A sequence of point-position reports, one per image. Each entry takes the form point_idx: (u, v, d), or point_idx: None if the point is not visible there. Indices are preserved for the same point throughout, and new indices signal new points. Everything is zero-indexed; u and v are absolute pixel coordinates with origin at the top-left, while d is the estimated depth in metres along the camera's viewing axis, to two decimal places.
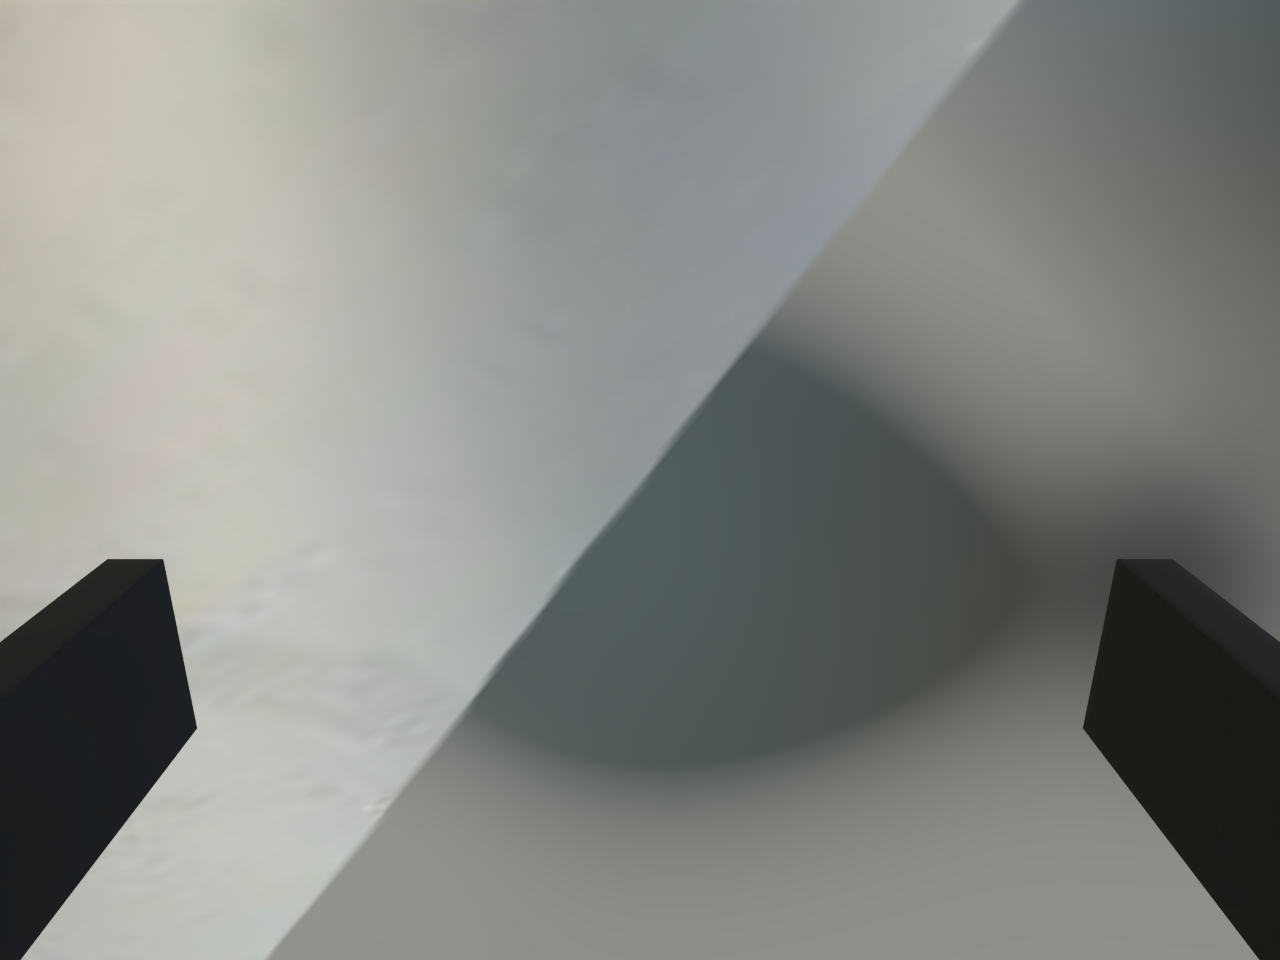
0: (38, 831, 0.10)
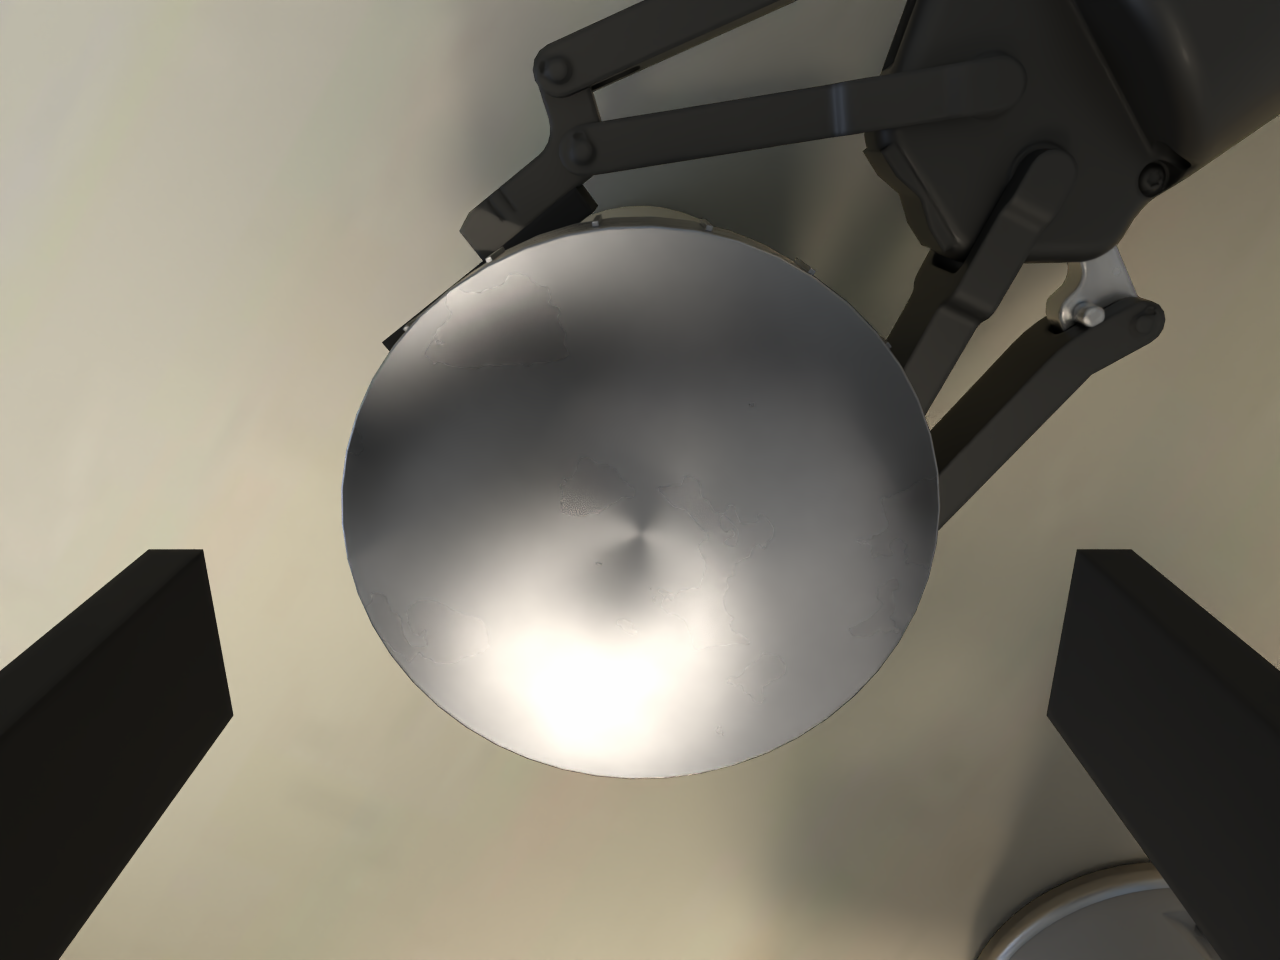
0: (92, 810, 0.10)
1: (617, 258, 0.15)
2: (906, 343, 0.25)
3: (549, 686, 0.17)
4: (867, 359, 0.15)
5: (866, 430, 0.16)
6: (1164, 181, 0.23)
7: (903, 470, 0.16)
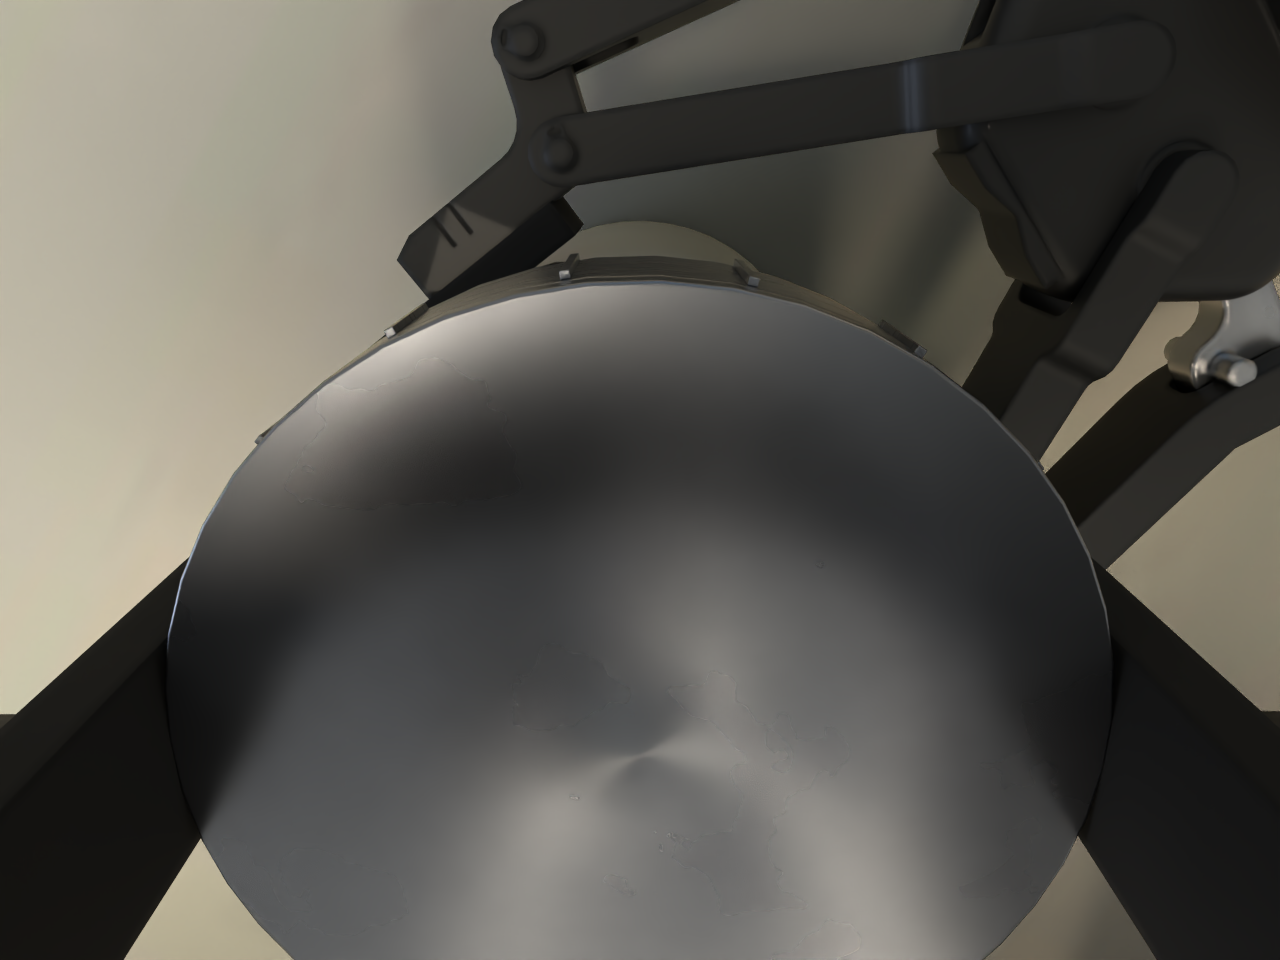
0: (174, 782, 0.10)
1: (601, 334, 0.09)
2: (989, 406, 0.19)
3: None
4: (1011, 495, 0.09)
5: (1003, 603, 0.10)
6: None
7: (1059, 662, 0.10)
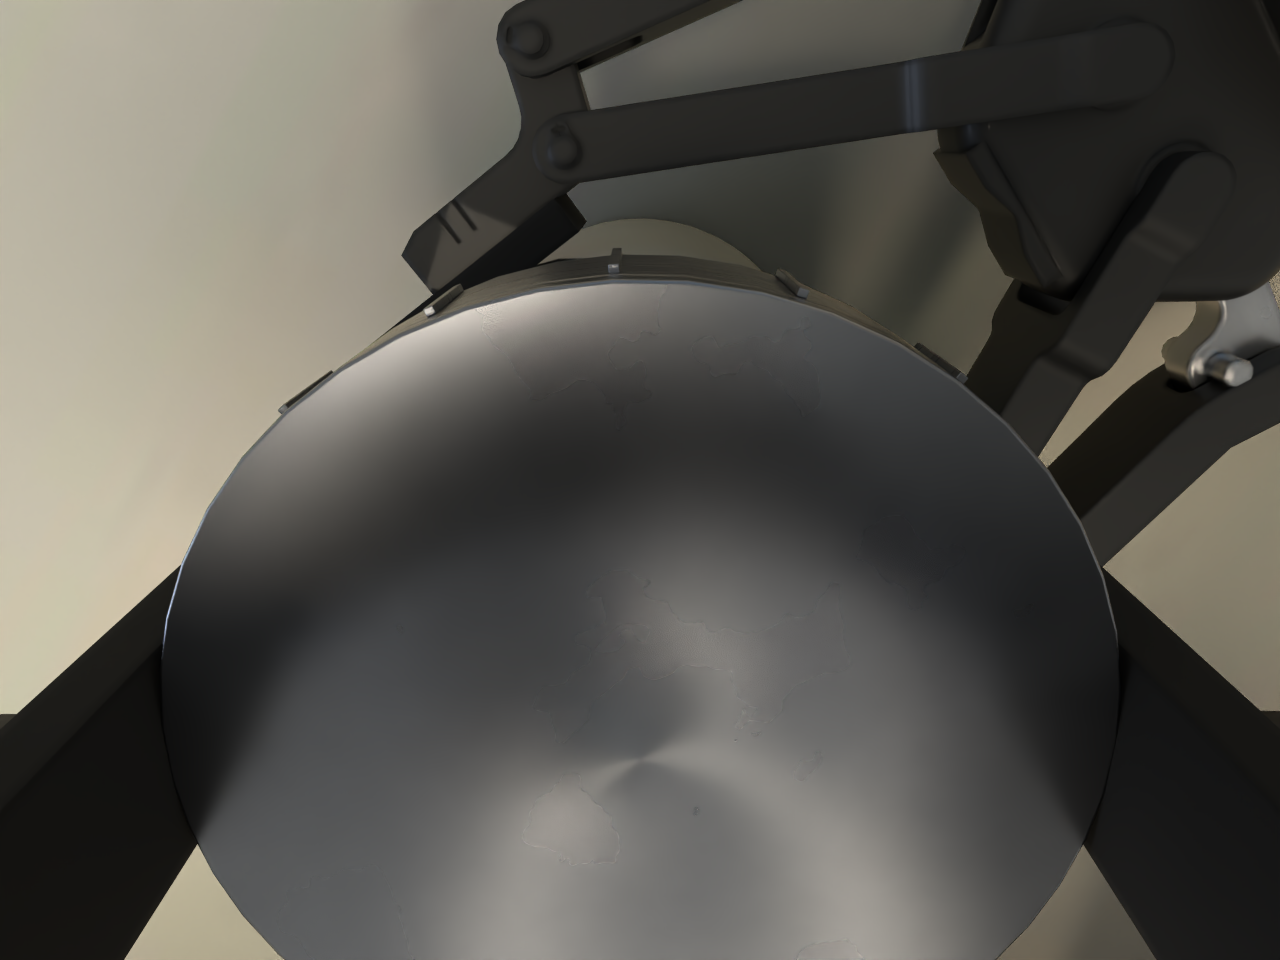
0: None
1: (227, 816, 0.11)
2: (988, 404, 0.19)
3: (920, 863, 0.11)
4: (288, 466, 0.09)
5: (411, 446, 0.09)
6: None
7: (473, 370, 0.09)
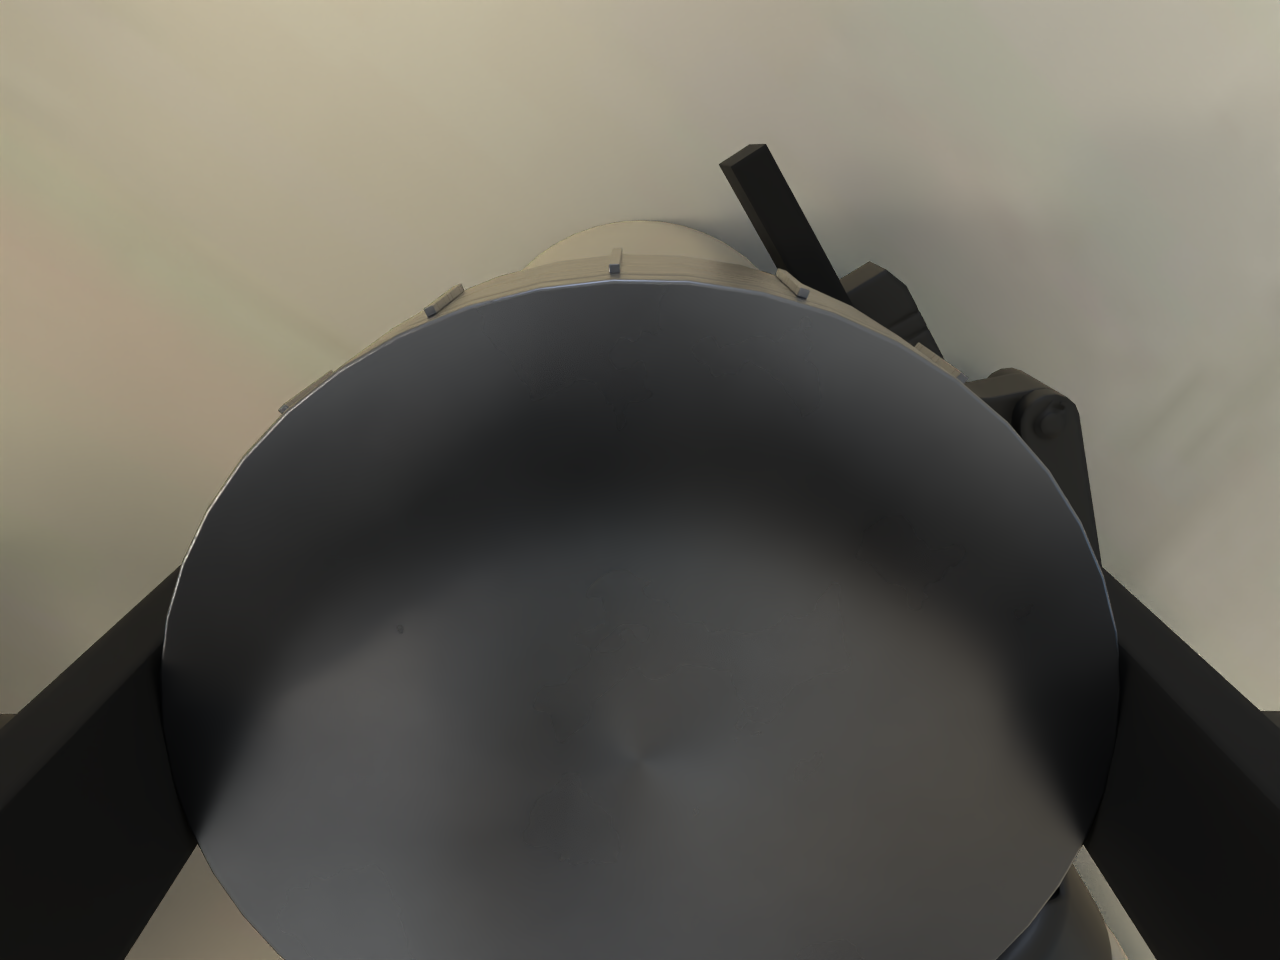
0: None
1: (227, 815, 0.11)
2: None
3: (920, 863, 0.11)
4: (288, 466, 0.09)
5: (412, 446, 0.09)
6: None
7: (474, 370, 0.09)
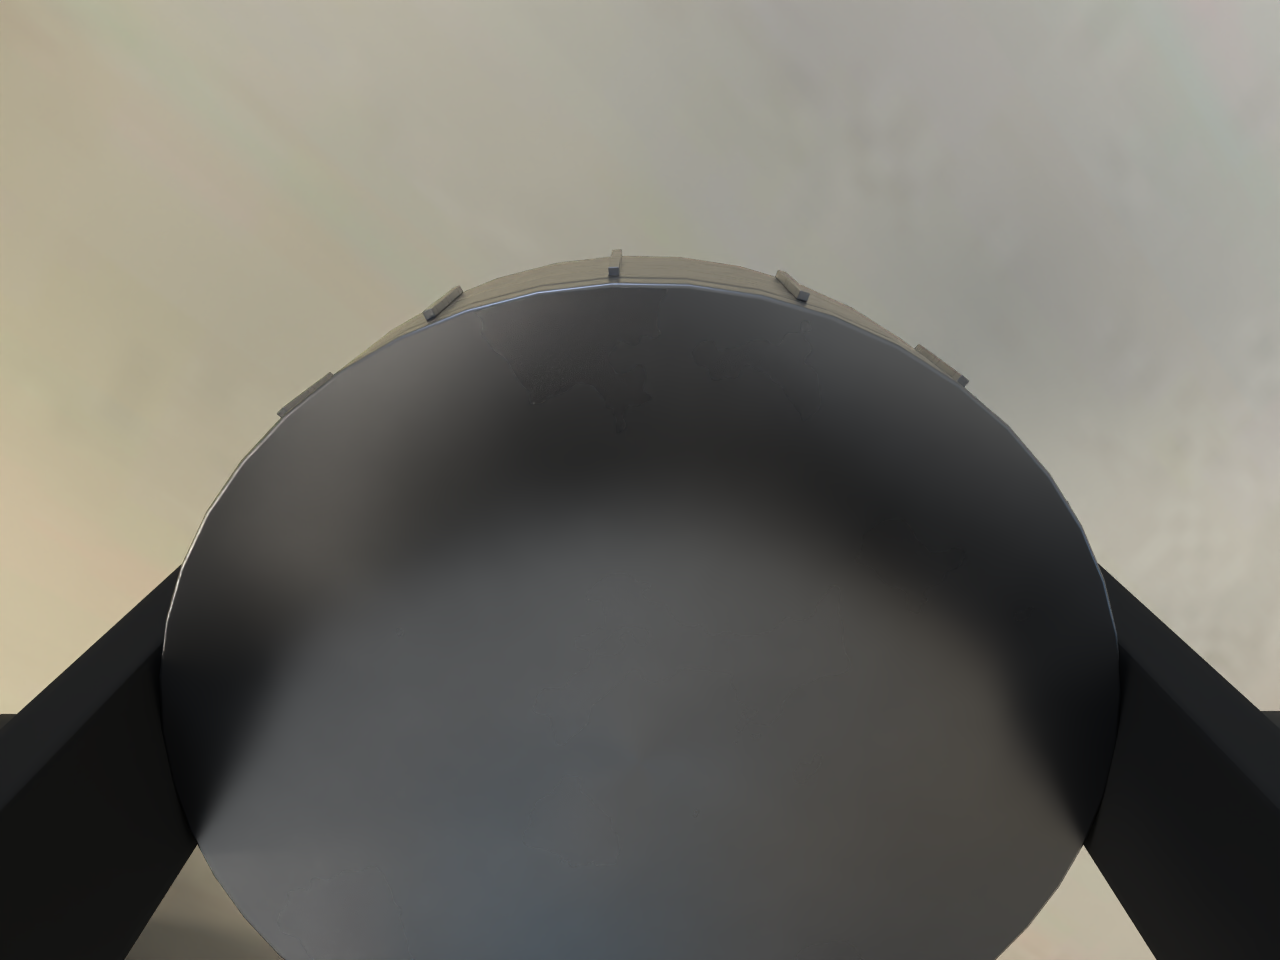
0: None
1: (227, 818, 0.11)
2: None
3: (920, 865, 0.11)
4: (287, 470, 0.09)
5: (411, 450, 0.09)
6: None
7: (473, 374, 0.09)
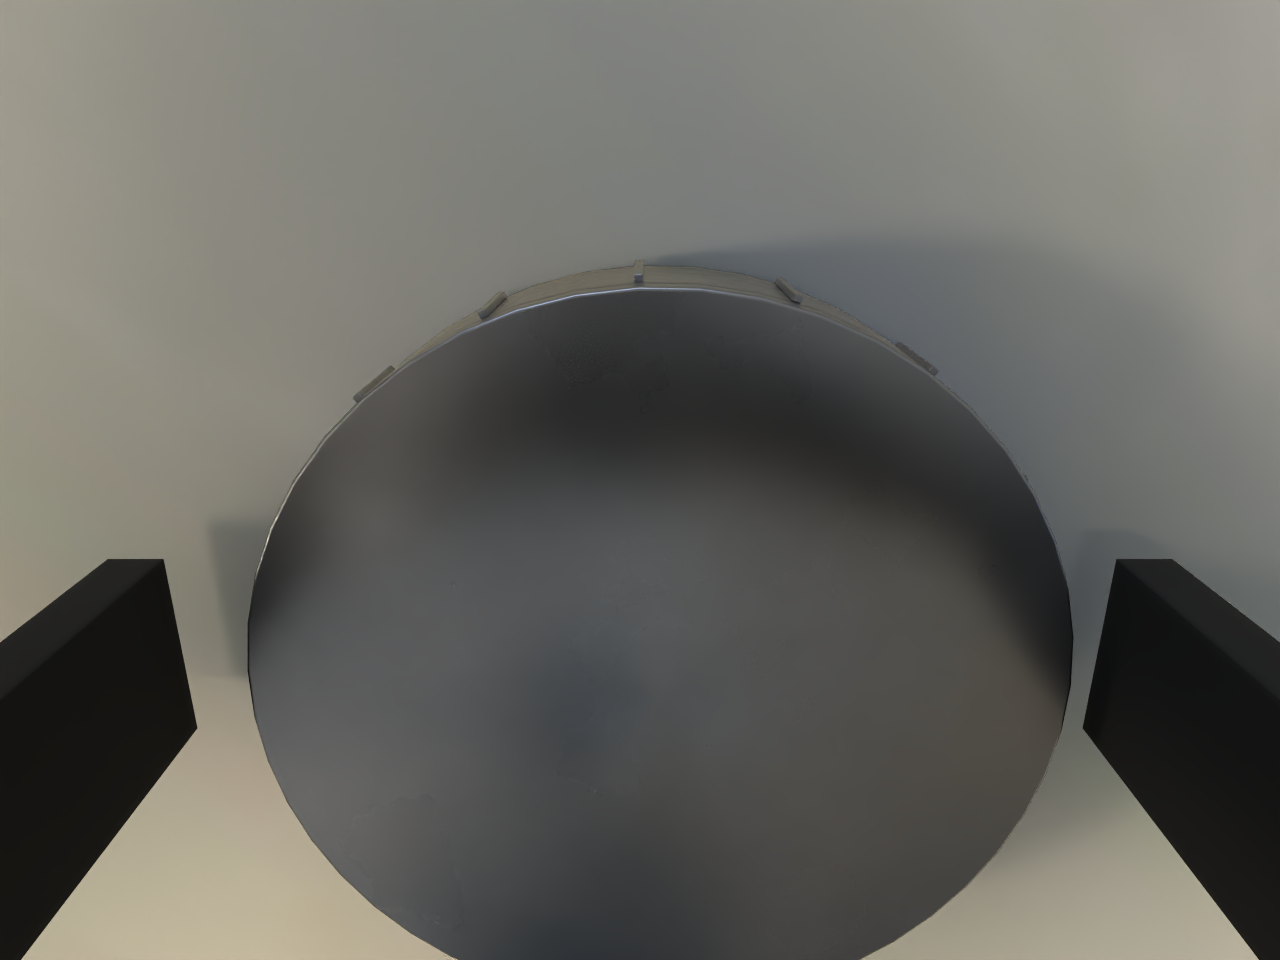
0: (39, 831, 0.10)
1: (300, 750, 0.12)
2: None
3: (901, 795, 0.12)
4: (363, 445, 0.11)
5: (467, 427, 0.11)
6: None
7: (520, 363, 0.10)
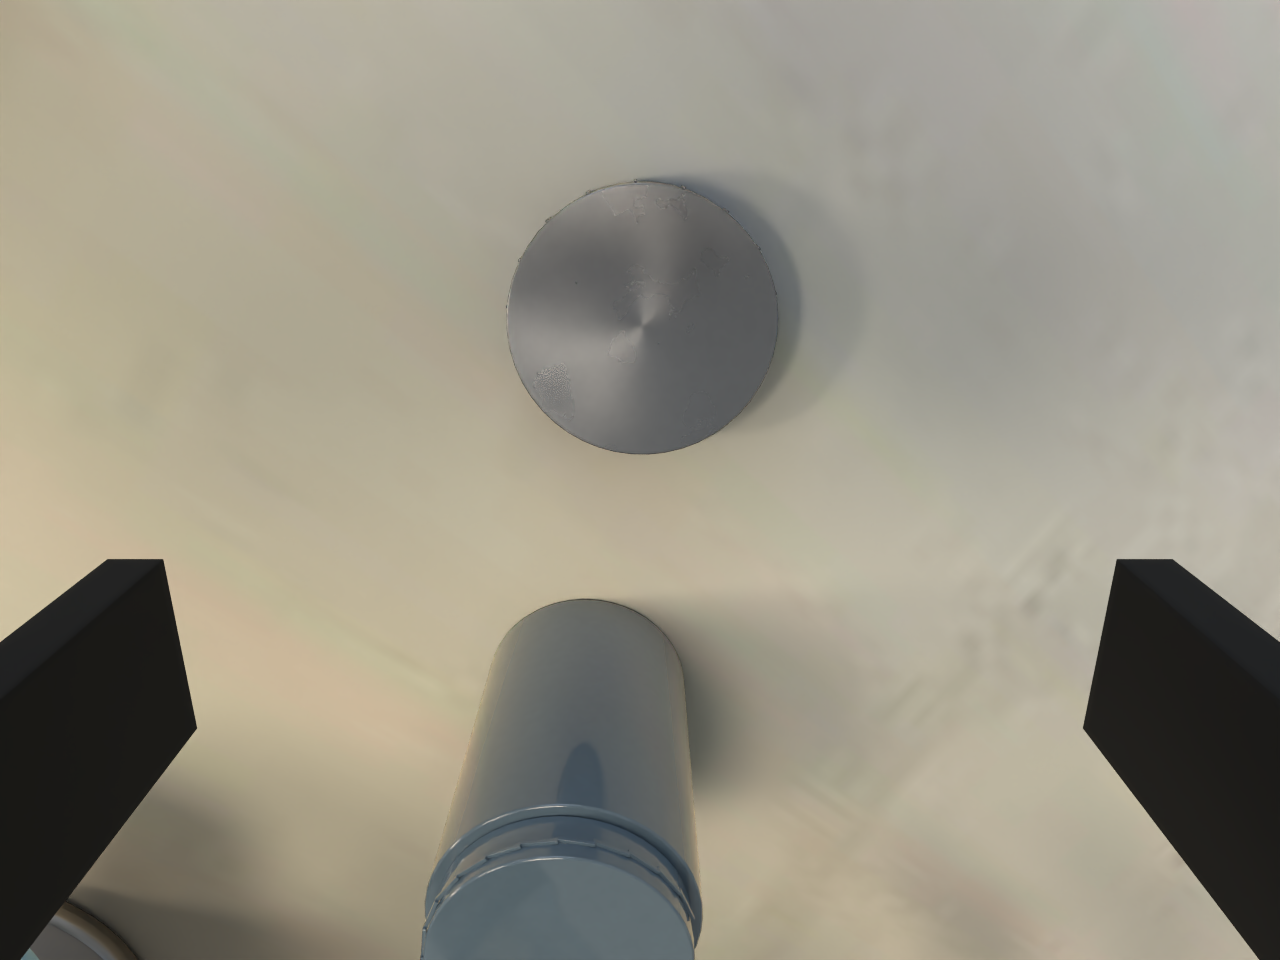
0: (38, 831, 0.10)
1: (521, 345, 0.36)
2: None
3: (725, 362, 0.36)
4: (550, 234, 0.35)
5: (582, 228, 0.35)
6: None
7: (599, 207, 0.34)
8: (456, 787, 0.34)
